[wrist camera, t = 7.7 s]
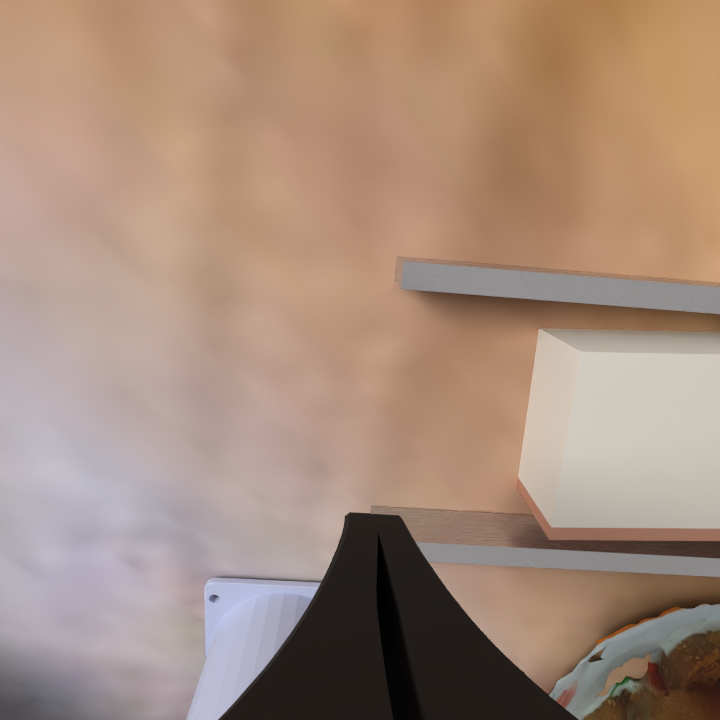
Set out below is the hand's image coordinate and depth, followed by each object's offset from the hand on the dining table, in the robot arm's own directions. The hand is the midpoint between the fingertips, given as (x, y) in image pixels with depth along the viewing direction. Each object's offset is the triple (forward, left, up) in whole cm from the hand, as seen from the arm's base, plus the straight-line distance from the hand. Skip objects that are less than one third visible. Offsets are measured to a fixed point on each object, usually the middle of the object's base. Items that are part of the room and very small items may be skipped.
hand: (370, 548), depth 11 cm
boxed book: (0, -14, -10) cm, 17 cm away
